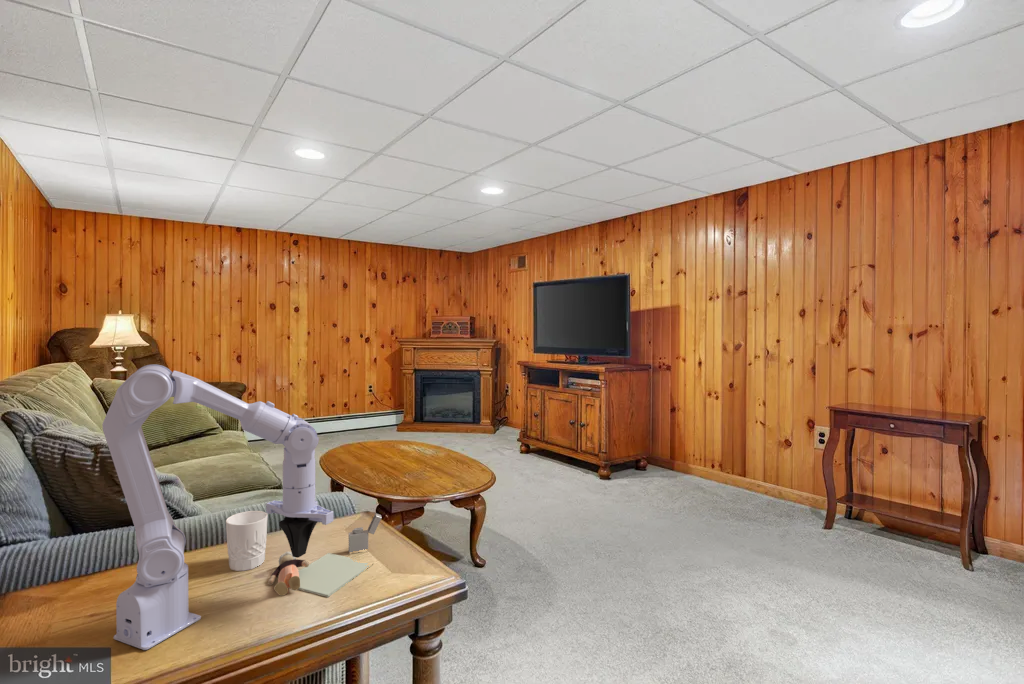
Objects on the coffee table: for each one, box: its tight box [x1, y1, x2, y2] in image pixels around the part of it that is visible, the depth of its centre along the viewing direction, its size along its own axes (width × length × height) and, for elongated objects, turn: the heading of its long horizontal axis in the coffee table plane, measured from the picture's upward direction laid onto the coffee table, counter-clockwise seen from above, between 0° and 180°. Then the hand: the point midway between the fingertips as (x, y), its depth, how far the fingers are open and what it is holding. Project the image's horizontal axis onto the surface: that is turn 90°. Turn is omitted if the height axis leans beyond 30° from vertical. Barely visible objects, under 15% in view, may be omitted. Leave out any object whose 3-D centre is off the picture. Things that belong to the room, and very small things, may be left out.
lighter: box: [348, 513, 382, 553], centre depth 115 cm, size 7×2×8 cm, turn 114°
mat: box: [298, 552, 369, 598], centre depth 104 cm, size 14×12×1 cm
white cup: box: [225, 510, 269, 572], centre depth 108 cm, size 8×8×10 cm
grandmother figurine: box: [267, 551, 310, 597], centre depth 102 cm, size 8×4×13 cm
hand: (299, 554), depth 96 cm, fingers closed
